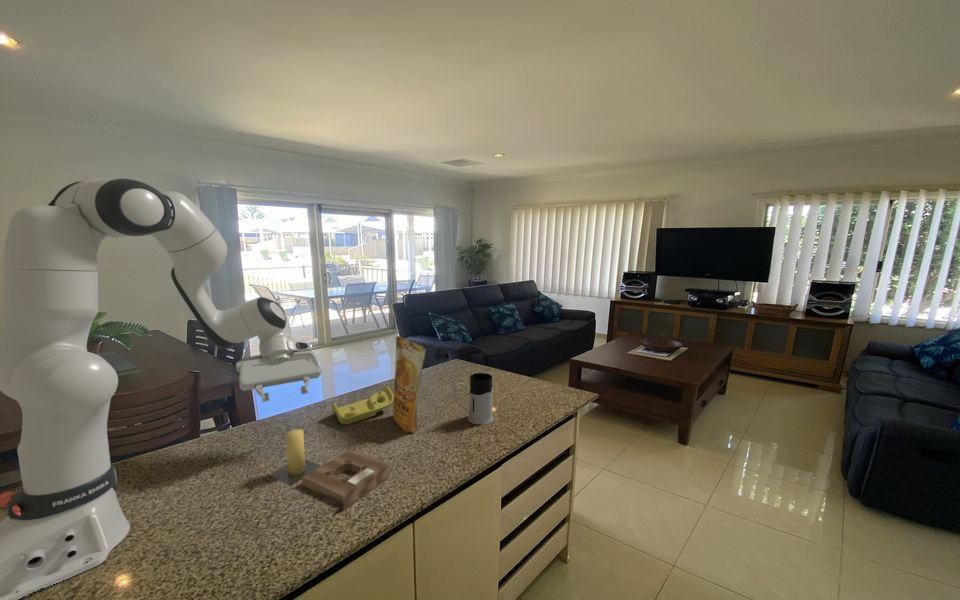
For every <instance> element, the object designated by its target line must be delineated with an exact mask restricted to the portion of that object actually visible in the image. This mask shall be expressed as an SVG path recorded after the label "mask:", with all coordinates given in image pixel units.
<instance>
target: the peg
mask: <svg viewBox="0 0 960 600" xmlns="http://www.w3.org/2000/svg"><path fill="white" fill-rule="evenodd" d="M304 434H305V433H304V429H300V428H299V429H297V428H296V429H292V430H289V431H287V432H285V445H286V446H285V447H286V448H285V449H286V465H287V468H288V474H289V475H298V474H301V473H303V472H304V471H305V459H306V455H305V453H306V452H305V435H304Z"/></svg>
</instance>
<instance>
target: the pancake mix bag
mask: <svg viewBox="0 0 960 600" xmlns="http://www.w3.org/2000/svg"><path fill="white" fill-rule="evenodd" d="M394 338H395V363H394V364H395V369H394V388H393V389H394V390H393V392H394V393H393V395H394V400H393V402H392V403H393V408H392V419H393V420H394V422H395V423H396V424H397V425H398V426H399V427H400V428H401V429H402V430H403V432H405V433H412V434H415V433H416V432H417V431H418V422H417V420H418V419H417V418H418V417H417V409H418V408H417V402H418V401H417V400H418V393H419V386H420V383H421V379H422V378H421V376H422V373H423V372H422V371H423V367H424V363H425V359H426V351H427V350H426V348H425V346H423V345H422V344H419V343H418V342H414V341H412V340H411V339H408V338H406V337H402V336H400V335H397V336H396V337H394Z"/></svg>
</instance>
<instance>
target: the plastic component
mask: <svg viewBox="0 0 960 600" xmlns="http://www.w3.org/2000/svg"><path fill="white" fill-rule="evenodd" d="M392 403H394V393H393V391H392V389H391V388H390V386H385V387H384V388H383V389H382V390H381V391H377V392H375V393H373V394H371V396H370V397H369V398H365V399H362V400H359V401H356V402H353V403H349V404H346V405H343V406H340V407H338V405H337V403H336V402H333V403H332V407H331V411H332V412H331V413H332V414H334V415H336V417H337V420H338V421H339V423H340V424H342V425H344V424H347V425H351V424H354V423H356V422H360V421H363V420H366V419H368V418H371V417H374V416H376V415H377V413H378V412H381V411H383V410H385V409H386V408H389V407H390V406H391V404H392ZM353 422H354V423H353ZM350 423H351V424H350Z"/></svg>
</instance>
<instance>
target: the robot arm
mask: <svg viewBox="0 0 960 600" xmlns="http://www.w3.org/2000/svg"><path fill="white" fill-rule="evenodd" d="M148 235H150V236H152V237H153V238H154V239H155V240H156V241H158V243H159V244H160V245H161V246H162V248H163V249H164V250H165V251H166V252H167V254H168V255H169V256H170V257H171V259H172V263H173V267H172V268H171V270H170V276H171V280H172V282H173V284H174V285H175V288H176V289H177V291H178V293H179V295H180V297H182V299H183V300H184V302H185V304H186V305H187V307H188V308H189V310H190V312H191V313H192V315H194V317H195V319H196V320H197V322H198V323H199V325H200V327H201V330H202V331H203V334H204V335H205V337H206V340H207V341H208V342H209V343H210V344H211V345H212V346H215V347H217V348H221V349H225V350H229V349H231V348H233V347H236V346H237V345H240V344H242V343H243V342H245V341H248V340H250V339H253V338H255V337H257V338H258V340H259V344H258V347H259V355H255V356H254V355H253V356H250V357H246V356H245V357H242V358H241V359H240V360H238V361H237V362H236V364H235V371H237V373H239V377H238V378H239V381H238V382H239V384H238V385H239V389H240V390H242V391H243V392H247V391H251V390H255V392H256V394H258V395H259V397H261V399H262V400H261V401H262V403H266V402H269V401H270V396H269V392H265V391H264V390H263V388H268V387H274V386H280V385H284V384H286V385H287V384H290V383H292V384H293V383H297V382H298V383H299V382H302V381H303V383H304V385H302V386H300V393H301V394H300V395H306V394H308V393H309V390H308V386H309V383H310V381H311V380H312V379H313V380H314V379H318V378H320V376H321V374H322V365H321V362H320V359H319V357H318V355H317V353H316V352H315V351H313V346H312V343H311V342H305V341H297V340H293V338H292V336H291V335H292V334H291V333H292V329H291V325H290V320H289V317H288V315H287V313H286V310H285V308H284V307H283V306H282V305H281V304H279V303H277V302H276V301H274V300H272V299H270V298H267V297H264V296H260V297H257V298H254V299H251V300H249V301H246V302H243V303H241V304H238V305H236V306H234V307H231V308H228V309H225V310H219V309H217V308H216V307H215V305H214V303H213V301H212V300H211V298H210V296H209V295H208V293H207V291H206V289H205V288H204V283H206V282H207V281H208V279H210V277H212V276H213V275H214V274H215V273H217V272H218V270H219V269H221V267H222V266H223V265H224V263H225V261H226V258H227V256H228V245H227V243H226V239H224V238H223V236H222V234H221V233H220V232H219V230H218V229H217V227H216V226H215V225H214V224H213V222H212V221H211V220H210V219H209V218H208V217H207V215H205V213H203V211H202V210H201V209H200V208H199V207H198V206H197V205H196V204H195V203H194V202H193V201H192V200H191V199H189V198H188V197H187V196H186V195H184V194H183V193H182V192H181V193H180V192H179V191H176V190H162V191H159V189H156V188H155V187H153V186H151V185H150V184H148V183H145V182H142V181H139V180H136V179H131V178H116V179H115V178H112V179H111V178H103V177H102V178H93V179H87V180H84V181H83V180H82V181H76V182H72V183H70V184H67V185H66V186H64V187H63V188H61V189H60V190H59V191H58V192H57V193H56V195H55V196H54V197H53V199H51V201H50V202H49V203H48V204H46V205H33V206H32V205H31V206H28V207H23V208H21V209H18V210H17V211H16V212H14V213H13V214H12V216H11V218H10V220H9V224H8V227H7V232H6V236H5V240H4V241H5V242H4V249H3V292H4V293H3V295H4V296H3V301H4V302H3V303H4V316H3V324H2V329H1V333H0V392H1V393H3V394H4V395H5V396H7V397H9V398H11V399H12V400H14V401H17V403H18V404H19V407H20V409H21V414H22V419H21V420H22V425H21V435H20V442H19V444H18V446H17V449H16V450H17V456H18V463H19V469H20V477H21V484H22V488H21V489H20V490H19V491H18V492H17V493H16V494H15V492H13V491H4V492H3V493H1V494H0V507H3V508H6V513H7V516H6V517H5V518H4V519H3V520H2V521H0V600H17V599H20V598H22V597H23V596H25V595H27V594H29V593H32V592H33V591H36V590H38V589H40V588H45V587H48V586H50V585H52V586H54V585H53V584H55V585H57V584H59V583H61V582H63V580H64V581H65V580H68V579H70V578H73V577H74V576H77V575H80V574H81V573H84V572H86V571H89V570H90V569H93V568H95V567H97V566H99V565H100V564H102V563H104V561H105V560H106V559H107V558H108V556H109V554H110V553H111V551H113V549H114V548H115V547H116V546H117V545H118V544H119V543H121V542H122V541H123V539H125V537H126V536H127V535H128V533H129V532H130V530H131V523H130V522H129V521H128V519H127V518H126V516H125V513H124V511H123V510H122V507H121V506H120V502H119V499H118V495H117V491H118V488H117V484H118V478H117V471H116V468H115V466H114V465H115V464H114V463H112V462H111V456H110V455H111V454H110V446H109V437H108V420H109V411H110V405H111V399H112V397H113V396H114V395H115V393H116V391H117V389H118V386H119V376H118V373H117V372H116V370H115V369H114V367H113V366H112V365H111V364H110V362H108V361H107V360H106V359H105V358H104V357H102V356H100V355H98V354H96V353H93V352H90V351H88V347H87V345H88V340H89V336H90V331H91V328H92V325H93V322H94V320H95V318H96V317H97V315H98V313H99V266H98V265H99V264H98V256H97V254H98V252H99V248H100V245H101V244H102V242H103V240H104V239H106V238H107V237H108V238H109V237H111V238H128V237H142V236H148ZM58 582H59V583H58ZM56 583H57V584H56ZM50 587H51V586H50ZM48 588H49V587H48ZM45 589H46V588H45Z"/></svg>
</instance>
